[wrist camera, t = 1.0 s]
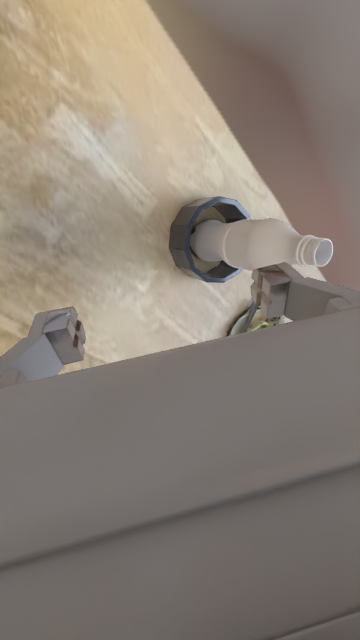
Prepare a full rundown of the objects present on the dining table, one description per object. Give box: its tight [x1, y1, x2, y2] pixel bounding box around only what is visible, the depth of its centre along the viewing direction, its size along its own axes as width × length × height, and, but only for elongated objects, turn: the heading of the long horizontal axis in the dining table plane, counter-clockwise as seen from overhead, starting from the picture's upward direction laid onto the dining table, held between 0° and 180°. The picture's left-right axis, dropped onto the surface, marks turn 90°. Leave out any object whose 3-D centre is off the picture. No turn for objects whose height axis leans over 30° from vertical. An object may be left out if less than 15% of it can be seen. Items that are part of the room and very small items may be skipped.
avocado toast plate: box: [230, 301, 284, 336], centre depth 61 cm, size 19×18×5 cm
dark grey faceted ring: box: [169, 196, 251, 283], centre depth 47 cm, size 14×14×6 cm
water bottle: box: [190, 218, 333, 271], centre depth 39 cm, size 7×7×25 cm
